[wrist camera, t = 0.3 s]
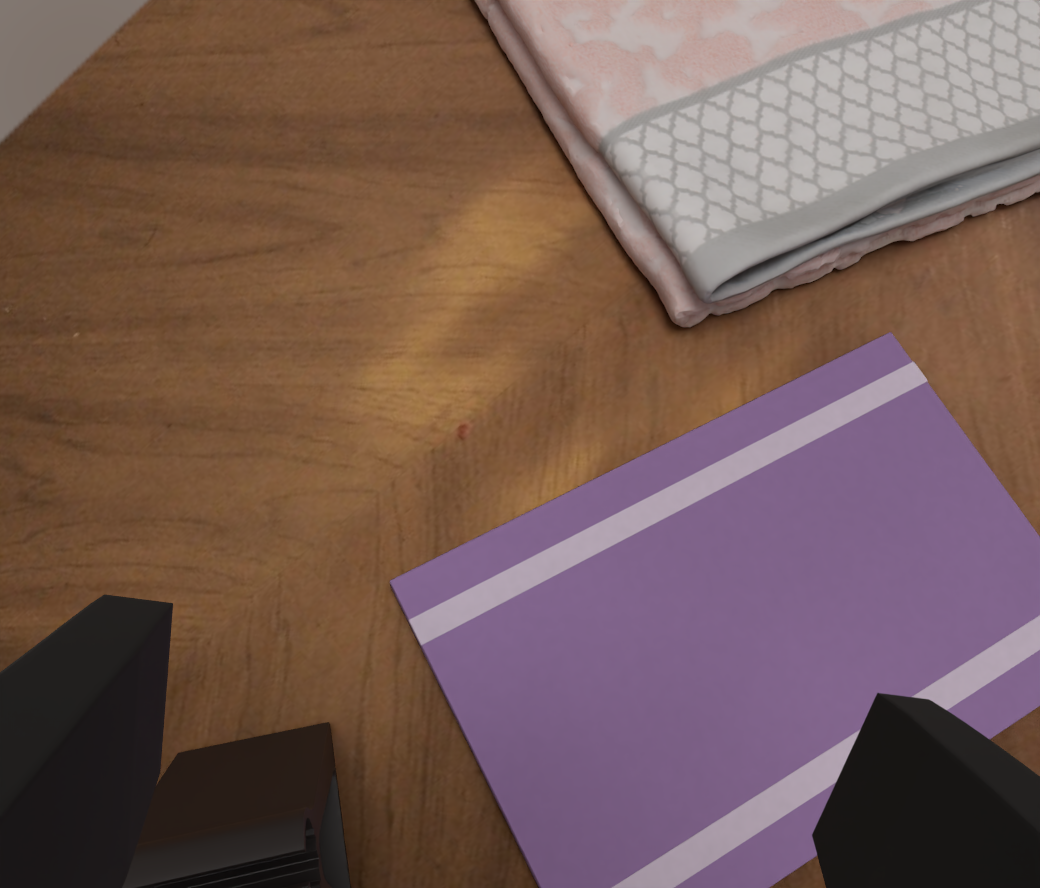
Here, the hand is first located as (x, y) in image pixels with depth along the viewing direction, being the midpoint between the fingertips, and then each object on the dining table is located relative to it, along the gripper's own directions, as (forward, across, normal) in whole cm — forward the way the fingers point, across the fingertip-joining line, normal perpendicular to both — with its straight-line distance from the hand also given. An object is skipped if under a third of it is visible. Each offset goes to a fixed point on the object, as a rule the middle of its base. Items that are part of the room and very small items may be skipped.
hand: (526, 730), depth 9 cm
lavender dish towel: (+25, -16, +14) cm, 33 cm away
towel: (+50, -18, -12) cm, 55 cm away
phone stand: (+19, +3, +24) cm, 31 cm away
